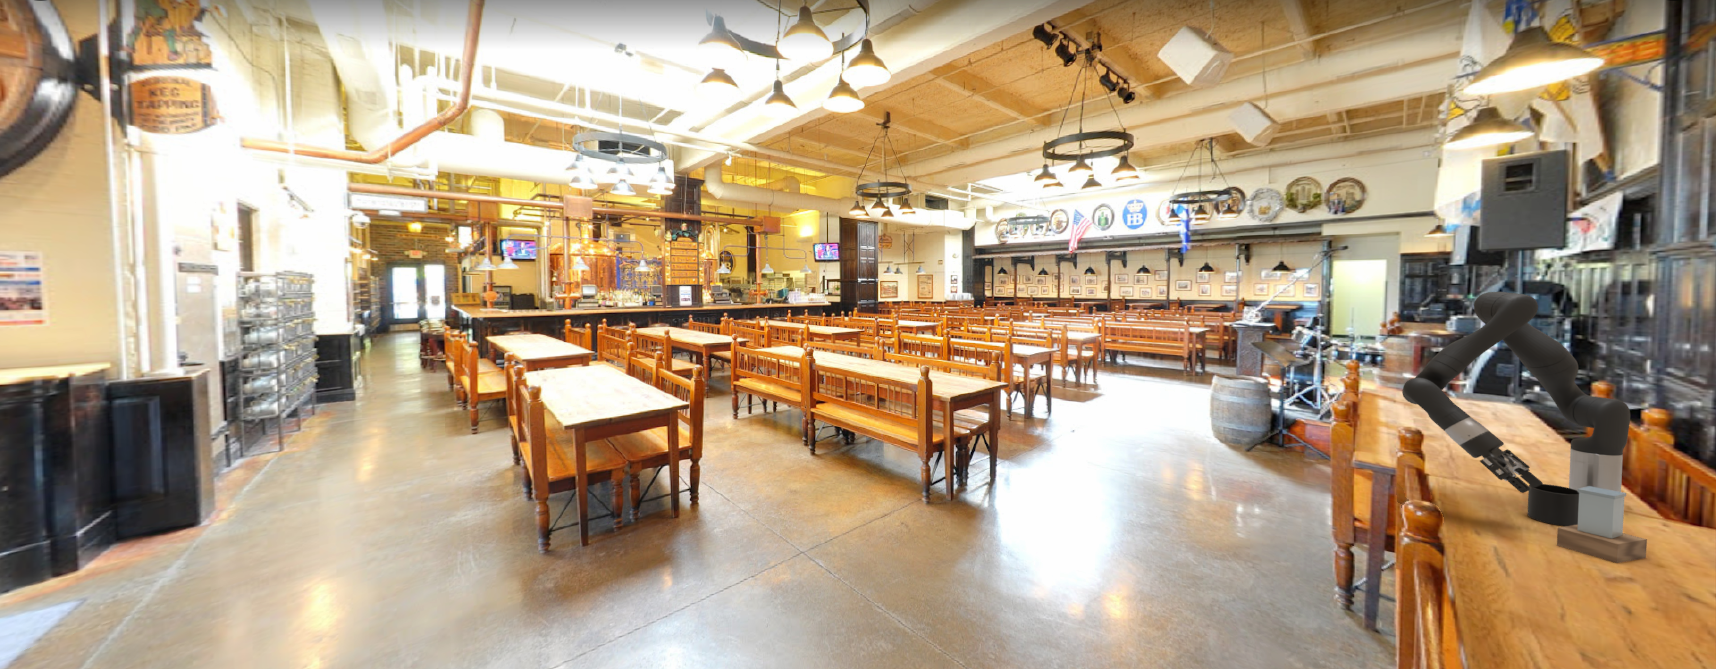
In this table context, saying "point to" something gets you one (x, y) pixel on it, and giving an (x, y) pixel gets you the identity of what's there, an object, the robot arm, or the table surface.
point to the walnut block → (1602, 545)
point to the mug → (1553, 504)
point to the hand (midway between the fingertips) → (1533, 488)
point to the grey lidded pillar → (1601, 511)
